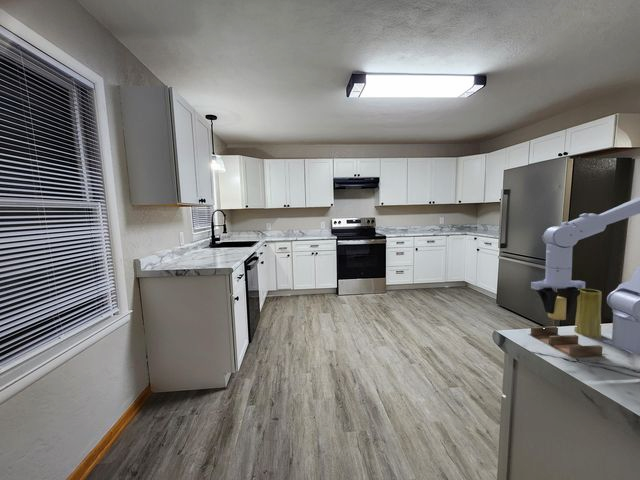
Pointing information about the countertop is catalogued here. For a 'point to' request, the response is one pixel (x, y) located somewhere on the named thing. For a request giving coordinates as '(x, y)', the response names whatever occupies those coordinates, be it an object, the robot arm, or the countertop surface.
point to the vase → (588, 313)
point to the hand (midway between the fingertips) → (556, 312)
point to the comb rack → (565, 343)
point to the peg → (559, 309)
